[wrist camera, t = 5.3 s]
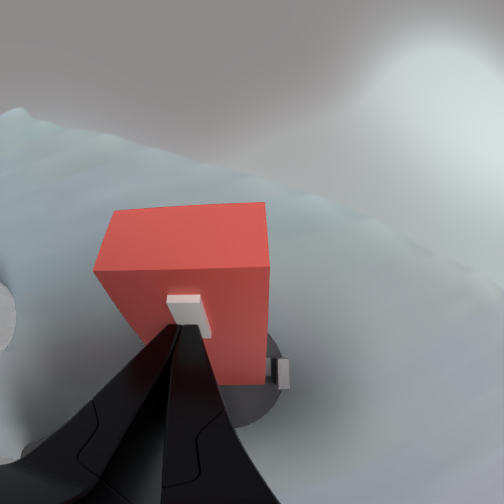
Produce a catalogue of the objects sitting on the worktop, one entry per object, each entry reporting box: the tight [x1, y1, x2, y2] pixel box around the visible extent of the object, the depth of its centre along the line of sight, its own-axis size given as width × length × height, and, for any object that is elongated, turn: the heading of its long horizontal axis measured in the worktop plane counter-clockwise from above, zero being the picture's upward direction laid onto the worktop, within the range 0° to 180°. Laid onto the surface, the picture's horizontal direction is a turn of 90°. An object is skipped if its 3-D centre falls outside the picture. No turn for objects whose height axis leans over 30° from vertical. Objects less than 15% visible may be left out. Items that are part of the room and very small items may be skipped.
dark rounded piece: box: [218, 333, 290, 428], centre depth 15 cm, size 6×6×4 cm
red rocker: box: [93, 202, 271, 385], centre depth 11 cm, size 2×5×10 cm, turn 92°
